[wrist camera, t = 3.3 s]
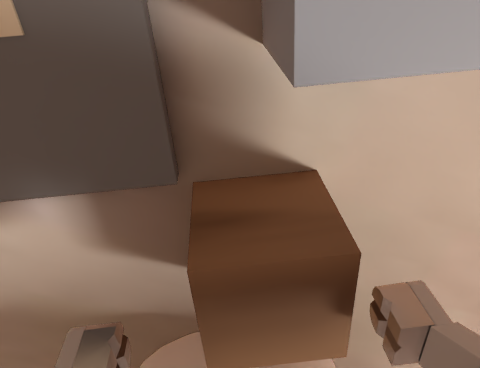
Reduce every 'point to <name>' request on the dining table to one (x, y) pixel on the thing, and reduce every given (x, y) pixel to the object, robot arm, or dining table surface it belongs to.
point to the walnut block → (270, 270)
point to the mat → (80, 99)
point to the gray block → (370, 38)
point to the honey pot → (193, 360)
